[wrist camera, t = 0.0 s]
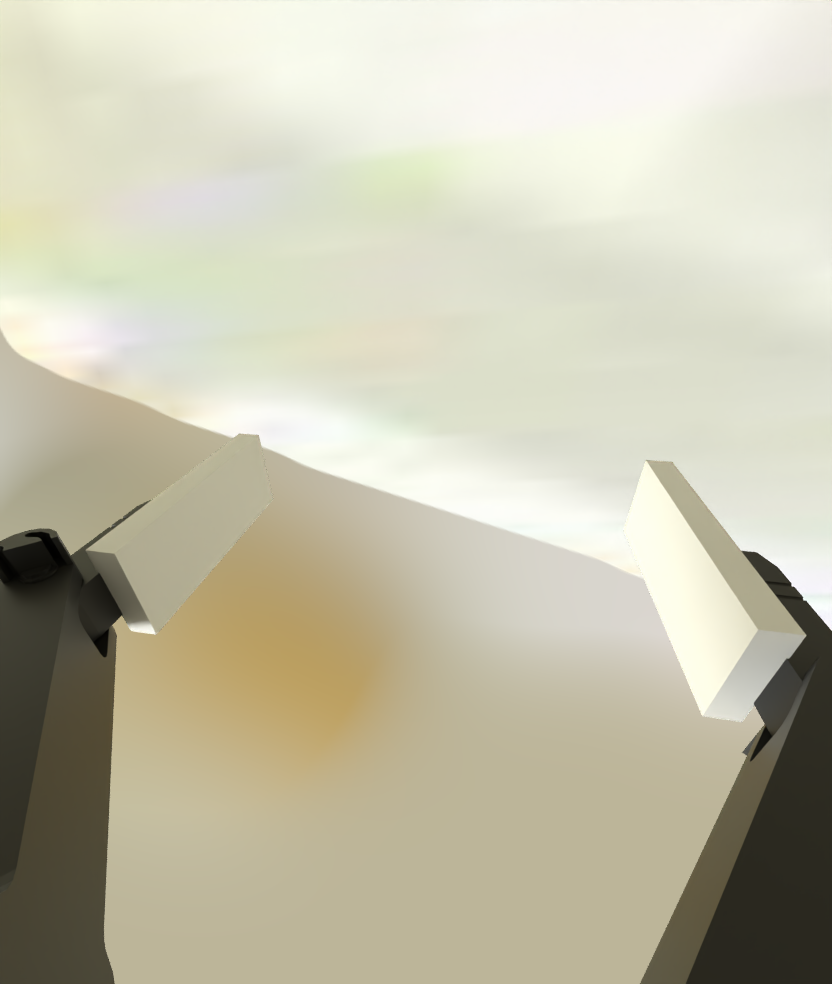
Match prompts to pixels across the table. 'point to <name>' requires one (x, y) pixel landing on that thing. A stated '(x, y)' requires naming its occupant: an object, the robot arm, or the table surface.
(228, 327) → the table surface
